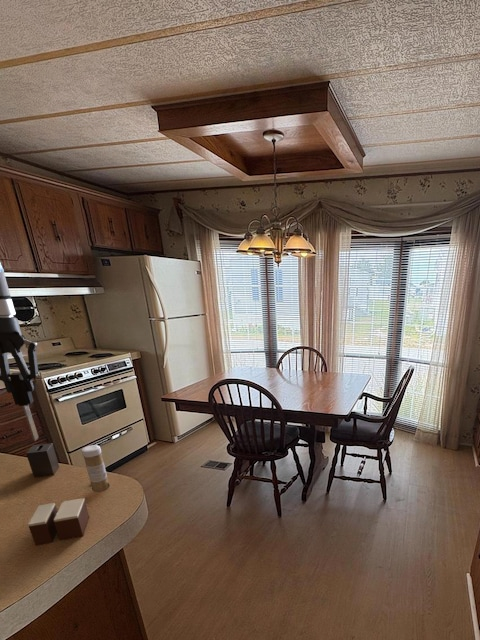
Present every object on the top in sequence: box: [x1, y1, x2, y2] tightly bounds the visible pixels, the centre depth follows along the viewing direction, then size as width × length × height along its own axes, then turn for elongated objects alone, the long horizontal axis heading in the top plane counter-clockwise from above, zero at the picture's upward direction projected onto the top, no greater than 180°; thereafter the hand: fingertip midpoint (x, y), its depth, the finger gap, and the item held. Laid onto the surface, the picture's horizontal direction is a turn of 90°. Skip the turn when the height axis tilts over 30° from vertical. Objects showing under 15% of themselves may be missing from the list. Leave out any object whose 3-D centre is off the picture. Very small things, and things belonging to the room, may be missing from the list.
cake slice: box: [27, 502, 58, 546], centre depth 82 cm, size 8×3×6 cm, turn 23°
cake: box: [54, 497, 90, 541], centre depth 84 cm, size 8×5×6 cm, turn 23°
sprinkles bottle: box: [81, 444, 110, 492], centre depth 100 cm, size 5×5×14 cm
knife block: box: [25, 442, 60, 479], centre depth 105 cm, size 6×5×10 cm
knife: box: [9, 371, 39, 442], centre depth 98 cm, size 3×2×20 cm, turn 23°
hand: (24, 402), depth 98 cm, fingers closed on knife, 2 cm apart
